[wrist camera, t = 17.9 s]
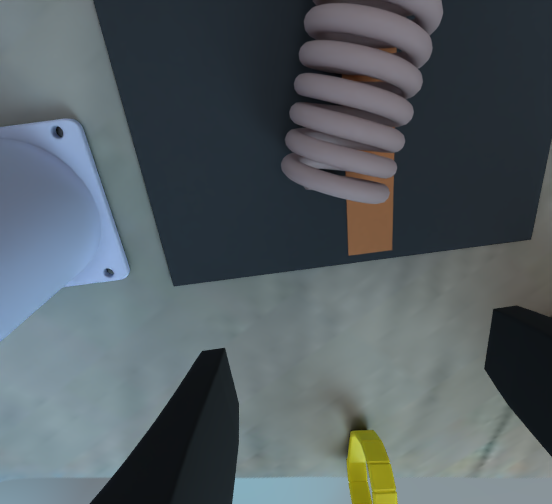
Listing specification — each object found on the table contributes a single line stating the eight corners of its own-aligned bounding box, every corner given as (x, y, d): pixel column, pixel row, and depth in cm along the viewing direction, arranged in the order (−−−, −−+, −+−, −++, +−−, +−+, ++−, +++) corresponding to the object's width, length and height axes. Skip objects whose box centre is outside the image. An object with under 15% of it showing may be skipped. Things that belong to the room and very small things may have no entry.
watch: (369, 469, 25) (401, 567, 20) (334, 470, 25) (356, 569, 20) (381, 413, 23) (420, 507, 17) (343, 414, 23) (370, 509, 17)
